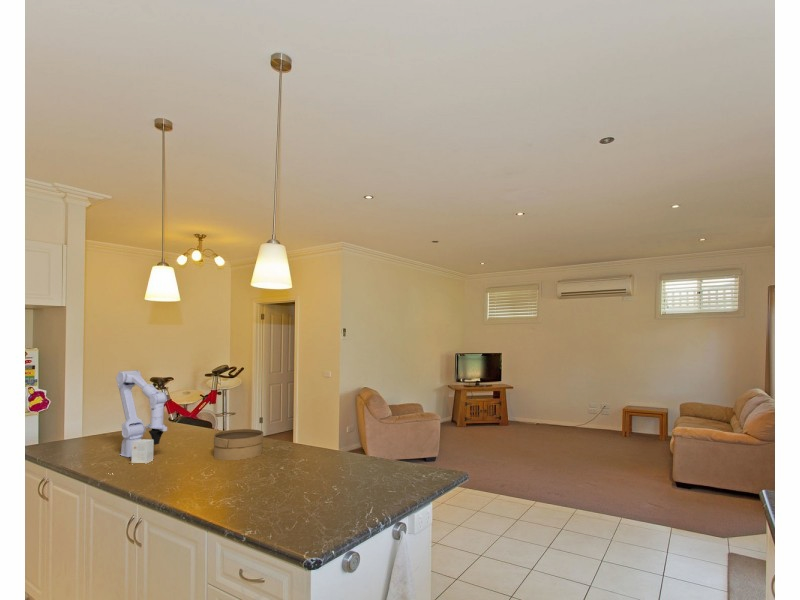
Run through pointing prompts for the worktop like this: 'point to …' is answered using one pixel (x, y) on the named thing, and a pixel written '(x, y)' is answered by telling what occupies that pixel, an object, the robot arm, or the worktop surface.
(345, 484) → the worktop surface
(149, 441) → the small box
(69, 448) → the worktop surface
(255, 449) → the steamer basket
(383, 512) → the worktop surface
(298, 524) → the worktop surface
